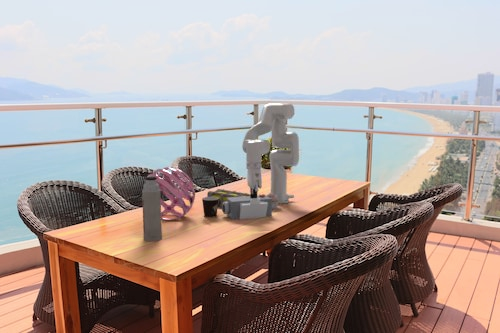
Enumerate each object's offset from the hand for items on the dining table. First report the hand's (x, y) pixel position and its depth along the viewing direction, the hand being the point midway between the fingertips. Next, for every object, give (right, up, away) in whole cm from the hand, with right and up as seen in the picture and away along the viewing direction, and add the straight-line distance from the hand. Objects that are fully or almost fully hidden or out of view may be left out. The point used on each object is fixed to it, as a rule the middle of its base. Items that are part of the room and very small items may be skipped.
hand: (253, 201), depth 239 cm
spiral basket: (-43, -9, +7) cm, 45 cm away
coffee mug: (-21, -9, +9) cm, 25 cm away
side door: (-1, -9, +3) cm, 10 cm away
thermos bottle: (-46, -15, -29) cm, 56 cm away
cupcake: (+10, -7, +26) cm, 28 cm away
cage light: (-14, -6, +35) cm, 38 cm away
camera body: (-4, -9, +9) cm, 13 cm away
